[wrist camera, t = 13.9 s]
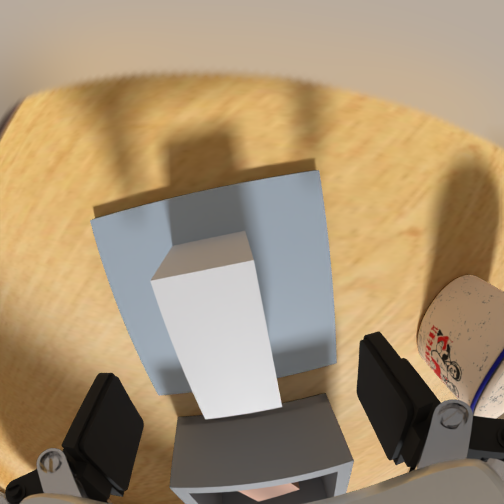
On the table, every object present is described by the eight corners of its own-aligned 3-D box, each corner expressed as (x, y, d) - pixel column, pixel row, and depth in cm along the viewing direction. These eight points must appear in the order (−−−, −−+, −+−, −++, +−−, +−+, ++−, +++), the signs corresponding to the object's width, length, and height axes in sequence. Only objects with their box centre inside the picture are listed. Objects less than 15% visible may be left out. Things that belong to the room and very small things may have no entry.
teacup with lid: (399, 323, 19) (494, 426, 8) (474, 248, 18) (582, 304, 7) (432, 390, 22) (489, 464, 11) (491, 331, 21) (558, 388, 10)
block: (272, 438, 20) (280, 476, 16) (291, 455, 21) (299, 489, 17) (232, 452, 20) (234, 489, 17) (254, 468, 22) (258, 501, 18)
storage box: (325, 393, 20) (353, 460, 14) (324, 461, 24) (340, 511, 17) (177, 417, 20) (169, 487, 13) (214, 479, 23) (216, 531, 17)
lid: (312, 170, 16) (359, 172, 10) (331, 353, 20) (362, 411, 14) (98, 216, 15) (42, 243, 10) (161, 384, 19) (146, 447, 13)
